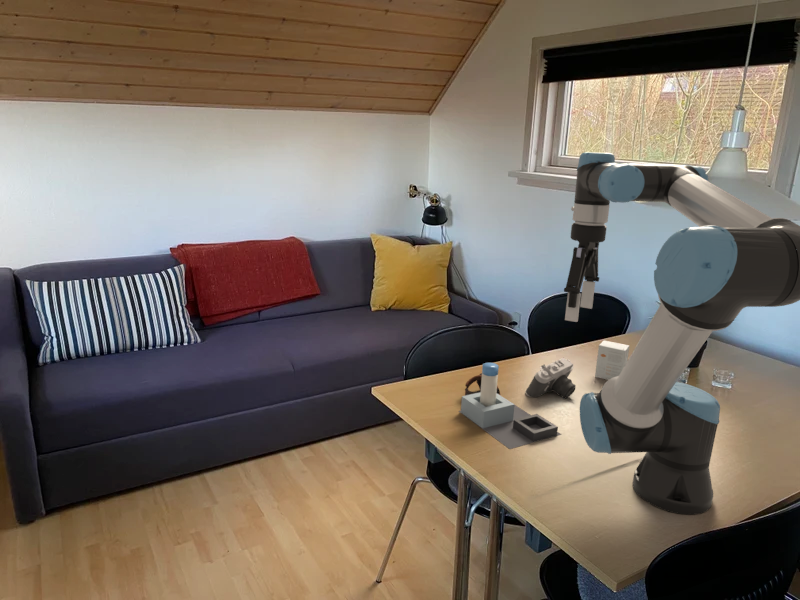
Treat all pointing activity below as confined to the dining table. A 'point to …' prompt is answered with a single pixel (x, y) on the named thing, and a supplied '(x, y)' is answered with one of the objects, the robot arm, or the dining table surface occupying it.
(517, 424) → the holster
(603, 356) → the small box
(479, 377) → the brown arched frame
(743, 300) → the robot arm
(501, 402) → the block
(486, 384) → the plug
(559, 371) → the camera
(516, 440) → the mat
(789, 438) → the dining table surface
